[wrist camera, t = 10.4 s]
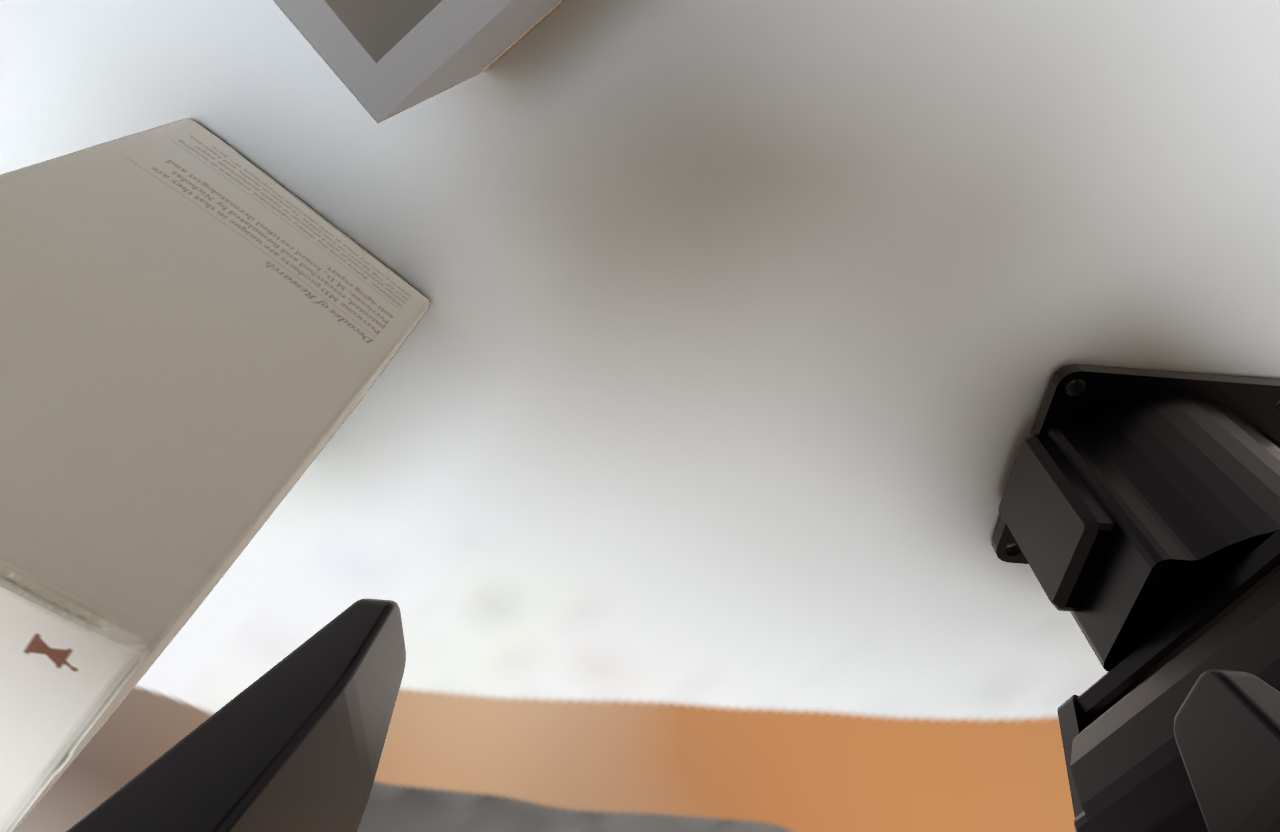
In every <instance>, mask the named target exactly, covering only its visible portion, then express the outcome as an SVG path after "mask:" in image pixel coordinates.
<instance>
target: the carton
mask: <svg viewBox="0 0 1280 832" xmlns="http://www.w3.org/2000/svg"><path fill="white" fill-rule="evenodd" d="M273 1H274V2H275V3H276V4H277V5H278V7H279V8H280V9H281V10H282V11H283V13H284V14H285V15H286V16H287V17H288V18H289V20H290V21H291V22H292V23H293V24H294V25H295V27H296V28H297V29H298V30H299V31H300V33H301V34H302V35H303V36H304V37H305V38H306V40H307V41H308V42H309V43H310V44H311V45H312V47H313V48H314V49H315V50H316V51H317V53H318V54H319V55H320V56H321V57H322V58H323V60H324V61H325V62H326V63H327V64H328V65H329V67H330V68H331V69H332V70H333V71H334V73H335V74H336V75H337V76H338V77H339V78H340V80H341V81H342V82H343V83H344V84H345V85H346V87H347V88H348V89H349V90H350V91H351V92H352V94H353V95H354V96H355V97H356V98H357V100H358V101H359V102H360V103H361V104H362V105H363V107H364V108H365V109H366V110H367V111H368V112H369V114H370V115H371V116H372V117H373V118H374V120H375V121H376V122H377V123H379V122H381V121H383V120H385V119H387V118H390V117H392V116H394V115H396V114H398V113H400V112H402V111H404V110H406V109H408V108H410V107H412V106H414V105H416V104H418V103H420V102H422V101H424V100H426V99H428V98H430V97H432V96H434V95H436V94H439V93H441V92H443V91H445V90H447V89H449V88H451V87H453V86H455V85H457V84H459V83H461V82H463V81H465V80H467V79H469V78H471V77H473V76H475V75H477V74H479V73H481V72H483V71H485V70H486V69H487V68H488V67H489V66H490V65H491V64H493V63H494V62H495V61H496V60H497V59H498V58H499V57H500V56H502V55H503V54H504V53H505V52H506V51H507V50H508V49H510V48H511V47H512V46H513V45H514V44H515V43H516V42H517V41H519V40H520V39H521V38H522V37H523V36H524V35H525V34H526V33H528V32H529V31H530V30H531V29H532V28H533V27H534V26H536V25H537V24H538V23H539V22H540V21H541V20H542V19H543V18H545V17H546V16H547V15H548V14H549V13H550V12H551V11H552V10H554V9H555V8H556V7H557V6H558V5H559V4H560V3H561V2H563V1H564V0H273Z"/></svg>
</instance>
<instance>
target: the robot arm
mask: <svg viewBox="0 0 1280 832" xmlns="http://www.w3.org/2000/svg"><path fill="white" fill-rule="evenodd" d="M1078 379H1079V383H1078V384H1077V386H1075V387H1074V388H1072V389H1067V390H1066V386H1067V385H1068V384H1069V383H1070V382H1071V381H1073V380H1078ZM1279 401H1280V380H1277V379H1264V378H1251V377H1237V376H1224V375H1211V374H1197V373H1184V372H1171V371H1157V370H1144V369H1131V368H1117V367H1104V366H1091V365H1077V364H1074V365H1067V366H1065V367H1062V368H1060V369H1059V370H1058V371H1057V372H1055V373H1054V375H1053V377H1052V378H1051V380H1050V383H1049V386H1048V388H1047V391H1046V394H1045V397H1044V399H1043V402H1042V405H1041V407H1040V410H1039V413H1038V416H1037V418H1036V421H1035V424H1034V427H1033V429H1032V432H1031V434H1030V435H1029V436H1028V437H1027V438H1026V439H1025V440H1024V441H1023V442H1022V445H1021V448H1020V450H1019V453H1018V456H1017V459H1016V462H1015V464H1014V467H1013V470H1012V473H1011V475H1010V478H1009V481H1008V484H1007V486H1006V489H1005V492H1004V495H1003V498H1002V500H1001V503H1000V506H999V512H1000V514H1001V517H1000V520H999V523H998V525H997V528H996V531H995V534H994V536H993V539H992V546H993V549H994V550H995V552H996V554H997V556H998V558H999V559H1001V560H1002V561H1005V562H1010V563H1023V564H1029V565H1030V566H1031V568H1032V570H1033V572H1034V573H1035V575H1036V577H1037V579H1038V580H1039V582H1040V584H1041V586H1042V588H1043V589H1044V591H1045V593H1046V595H1047V596H1048V598H1049V600H1050V601H1051V603H1052V604H1053V605H1054V606H1055V607H1056V608H1057V609H1058V610H1059V611H1070V612H1071V613H1072V615H1073V617H1074V618H1075V620H1076V622H1077V624H1078V625H1079V627H1080V629H1081V630H1082V632H1083V634H1084V635H1085V637H1086V639H1087V640H1088V642H1089V644H1090V646H1091V647H1092V649H1093V651H1094V652H1095V654H1096V656H1097V657H1098V659H1099V661H1100V662H1101V664H1102V666H1103V667H1104V669H1105V670H1106V671H1108V673H1107V674H1105V675H1104V676H1103V677H1102V678H1101V679H1099V680H1098V681H1097V682H1096V683H1095V684H1093V685H1092V686H1091V687H1090V688H1089V689H1088V690H1086V691H1085V692H1084V693H1083V694H1082V695H1080V696H1077V695H1073V696H1072V697H1071V698H1070V699H1068V700H1067V701H1066V702H1065V703H1064V704H1062V705H1061V706H1060V707H1059V708H1058V716H1059V723H1060V728H1061V735H1062V741H1063V747H1064V754H1065V760H1066V766H1067V772H1068V778H1069V784H1070V791H1071V797H1072V803H1073V809H1074V815H1075V820H1074V825H1075V831H1076V832H1280V404H1278V405H1277V403H1278V402H1279ZM1011 543H1016V544H1015V545H1014V546H1012V547H1008V548H1006V547H1007V545H1009V544H1011ZM405 660H406V651H405V643H404V636H403V628H402V621H401V614H400V609H399V606H398V604H397V603H396V602H394V601H390V600H378V599H361V600H359V601H357V602H355V603H354V604H352V605H351V606H350V607H349V608H347V609H346V610H345V611H344V612H342V613H341V614H340V615H339V616H337V617H336V618H335V619H334V620H332V621H331V622H330V623H329V624H327V625H326V626H325V627H323V628H322V629H321V630H320V631H318V632H317V633H316V634H315V635H313V636H312V637H311V638H310V639H308V640H307V641H306V642H305V643H303V644H302V645H301V646H299V647H298V648H297V649H296V650H294V651H293V652H292V653H291V654H289V655H288V656H287V657H286V658H284V659H283V660H282V661H281V662H279V663H278V664H277V665H276V666H274V667H273V668H272V669H270V670H269V671H268V672H267V673H265V674H264V675H263V676H262V677H260V678H259V679H258V680H257V681H255V682H254V683H253V684H252V685H250V686H249V687H248V688H247V689H245V690H244V691H243V692H241V693H240V694H239V695H238V696H236V697H235V698H234V699H233V700H231V701H230V702H229V703H228V704H226V705H225V706H224V707H223V708H221V709H220V710H219V711H218V712H216V713H215V714H214V715H212V716H211V717H210V718H209V719H208V720H206V721H205V722H204V723H202V724H201V725H200V726H199V727H197V728H196V729H195V730H194V731H192V732H191V733H190V734H189V735H187V736H186V737H185V738H184V739H182V740H181V741H180V742H178V743H177V744H176V745H175V746H173V747H172V748H171V749H170V750H168V751H167V752H166V753H165V754H163V755H162V756H161V757H159V758H158V759H157V760H156V761H154V762H153V763H152V764H151V765H150V766H148V767H147V768H146V769H144V770H143V771H142V772H141V773H139V774H138V775H137V776H136V777H134V778H133V779H132V780H131V781H129V782H128V783H127V784H125V785H124V786H123V787H122V788H120V789H119V790H118V791H117V792H116V793H114V794H113V795H112V796H110V797H109V798H108V799H107V800H105V801H104V802H103V803H102V804H100V805H99V806H98V807H96V808H95V809H94V810H93V811H91V812H90V813H89V814H88V815H86V816H85V817H84V818H83V819H81V820H80V821H79V822H78V823H76V824H75V825H74V826H72V827H71V828H70V829H69V830H67V831H66V832H357V830H358V827H359V825H360V822H361V819H362V816H363V814H364V811H365V808H366V805H367V802H368V799H369V796H370V792H371V789H372V785H373V782H374V778H375V774H376V771H377V768H378V764H379V760H380V757H381V753H382V749H383V746H384V742H385V738H386V735H387V731H388V727H389V724H390V720H391V716H392V713H393V710H394V706H395V702H396V699H397V695H398V691H399V688H400V684H401V681H402V677H403V673H404V668H405Z"/></svg>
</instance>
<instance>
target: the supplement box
mask: <svg viewBox="0 0 1280 832" xmlns="http://www.w3.org/2000/svg"><path fill="white" fill-rule="evenodd" d="M429 307H430V301H429V300H428V299H427V298H426V297H424V296H423V295H422V294H421V293H420V292H418V291H417V290H416V289H415V288H413V287H412V286H411V285H409V284H408V283H407V282H405V281H404V280H403V279H402V278H400V277H399V276H398V275H397V274H396V273H394V272H393V271H392V270H390V269H389V268H387V267H386V266H385V265H384V264H382V263H381V262H380V261H379V260H377V259H376V258H374V257H373V256H372V255H371V254H369V253H368V252H367V251H365V250H364V249H363V248H361V247H360V246H359V245H357V244H356V243H355V242H354V241H353V240H351V239H350V238H349V237H348V236H346V235H345V234H344V233H342V232H341V231H340V230H338V229H337V228H336V227H334V226H333V225H332V224H330V223H329V222H328V221H326V220H325V219H324V218H322V217H321V216H320V215H319V214H317V213H316V212H315V211H314V210H312V209H311V208H310V207H309V206H307V205H306V204H305V203H303V202H302V201H301V200H299V199H298V198H297V197H295V196H294V195H293V194H291V193H290V192H289V191H288V190H286V189H285V188H283V187H282V186H281V185H279V184H278V183H277V182H276V181H274V180H273V179H272V178H271V177H269V176H268V175H267V174H266V173H264V172H263V171H261V170H260V169H259V168H257V167H256V166H255V165H253V164H252V163H251V162H249V161H248V160H247V159H245V158H244V157H243V156H241V155H240V154H239V153H238V152H236V151H235V150H234V149H233V148H232V147H230V146H229V145H227V144H226V143H225V142H223V141H222V140H221V139H219V138H218V137H216V136H215V135H214V134H212V133H211V132H209V131H208V130H206V129H205V128H203V127H202V126H200V125H199V124H198V123H196V122H195V121H193V120H191V119H183V120H179V121H175V122H172V123H169V124H165V125H162V126H159V127H156V128H152V129H149V130H146V131H143V132H139V133H136V134H132V135H129V136H126V137H122V138H119V139H116V140H112V141H109V142H106V143H102V144H99V145H96V146H92V147H89V148H86V149H83V150H80V151H77V152H74V153H70V154H67V155H64V156H61V157H57V158H54V159H51V160H47V161H44V162H41V163H38V164H34V165H31V166H28V167H25V168H21V169H18V170H15V171H11V172H8V173H5V174H2V175H0V832H14V831H15V830H16V829H17V828H18V827H19V825H20V824H21V823H22V822H23V821H24V819H25V818H26V817H27V816H28V815H29V813H30V812H31V811H32V810H33V808H34V807H35V806H36V805H37V804H38V802H39V801H40V800H41V799H42V798H43V796H44V795H45V794H46V793H47V791H48V790H49V789H50V788H51V787H52V786H53V784H54V783H55V782H56V781H57V780H58V778H59V777H60V776H61V775H62V773H63V772H64V771H65V770H66V769H67V767H68V766H69V765H70V764H71V763H72V762H73V760H74V759H75V758H76V756H78V754H79V753H80V752H81V751H82V750H83V748H84V747H85V746H86V745H87V744H88V742H89V741H90V740H91V739H92V738H93V736H94V735H95V734H96V733H97V732H98V730H99V729H100V728H101V727H102V726H103V724H104V723H105V722H106V721H107V720H108V718H109V717H110V716H111V715H112V714H113V712H114V711H115V710H116V708H117V707H118V706H119V705H120V704H121V702H122V701H123V700H124V699H125V697H126V696H127V695H128V694H129V693H130V691H131V690H132V689H133V688H134V686H135V685H136V684H137V683H138V681H139V680H140V679H141V678H142V677H143V675H144V674H145V673H146V672H147V670H148V669H149V668H150V667H151V665H152V664H153V663H154V662H155V660H156V659H157V658H158V657H159V656H160V654H161V653H162V652H163V651H164V649H165V648H166V647H167V646H168V644H169V643H170V642H171V641H172V639H173V638H174V637H175V636H176V635H177V633H178V632H179V631H180V630H181V628H182V627H183V626H184V625H185V623H186V622H187V621H188V620H189V618H190V617H191V616H192V615H193V613H194V612H195V611H196V610H197V608H198V607H199V606H200V605H201V603H202V602H203V601H204V600H205V598H206V597H207V596H208V594H209V593H210V592H211V591H212V589H213V588H214V587H215V586H216V584H217V583H218V582H219V580H220V579H221V578H222V577H223V575H224V574H225V573H226V572H227V570H228V569H229V568H230V566H231V565H232V564H233V563H234V561H235V560H236V559H237V558H238V556H239V555H240V554H241V553H242V551H243V550H244V549H245V547H246V546H247V545H248V544H249V542H250V541H251V540H252V539H253V537H254V536H255V535H256V533H257V532H258V531H259V530H260V528H261V527H262V526H263V524H264V523H265V522H266V521H267V519H268V518H269V517H270V515H271V514H272V513H273V512H274V510H275V509H276V508H277V506H278V505H279V504H280V503H281V501H282V500H283V499H284V498H285V496H286V495H287V494H288V492H289V491H290V490H291V489H292V487H293V486H294V485H295V484H296V482H297V481H298V480H299V478H300V477H301V476H302V475H303V473H304V472H305V471H306V470H307V468H308V467H309V466H310V464H311V463H312V462H313V461H314V459H315V458H316V457H317V455H318V454H319V453H320V452H321V450H322V449H323V448H324V446H325V445H326V444H327V443H328V441H329V440H330V439H331V438H332V436H333V435H334V434H335V432H336V431H337V430H338V429H339V427H340V426H341V425H342V424H343V422H344V421H345V420H346V418H347V417H348V416H349V415H350V413H351V412H352V411H353V410H354V408H355V407H356V406H357V404H358V403H359V402H360V400H361V399H362V398H363V396H364V395H365V394H366V392H367V391H368V390H369V388H370V387H371V386H372V385H373V383H374V382H375V381H376V379H377V378H378V377H379V375H380V374H381V373H382V371H383V370H384V369H385V367H386V366H387V364H388V363H389V362H390V360H391V359H392V357H393V356H394V355H395V353H396V352H397V350H398V349H399V348H400V346H401V345H402V343H403V342H404V341H405V339H406V338H407V336H408V335H409V334H410V332H411V331H412V329H413V328H414V327H415V325H416V324H417V323H418V321H419V320H420V318H421V317H422V316H423V314H424V313H425V312H426V311H427V309H428V308H429Z"/></svg>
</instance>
